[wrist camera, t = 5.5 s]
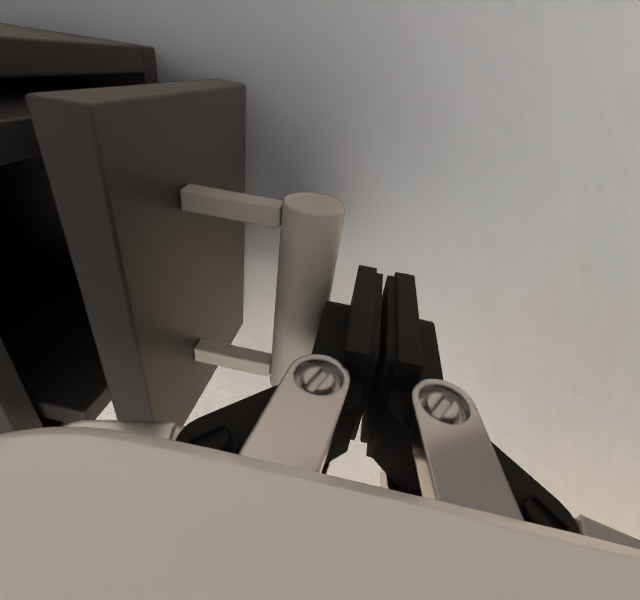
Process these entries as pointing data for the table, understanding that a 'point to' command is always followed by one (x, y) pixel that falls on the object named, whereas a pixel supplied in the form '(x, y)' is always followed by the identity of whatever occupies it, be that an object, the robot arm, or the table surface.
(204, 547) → the robot arm
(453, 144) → the table surface
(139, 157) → the drawer
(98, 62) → the cabinet
